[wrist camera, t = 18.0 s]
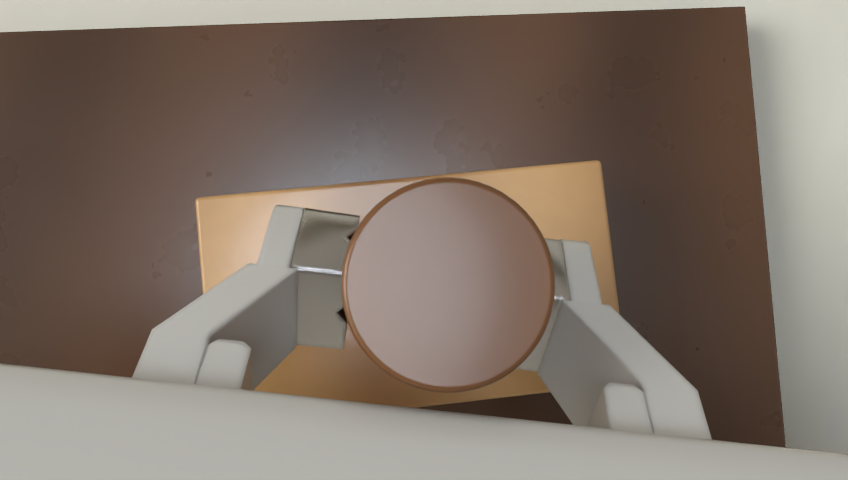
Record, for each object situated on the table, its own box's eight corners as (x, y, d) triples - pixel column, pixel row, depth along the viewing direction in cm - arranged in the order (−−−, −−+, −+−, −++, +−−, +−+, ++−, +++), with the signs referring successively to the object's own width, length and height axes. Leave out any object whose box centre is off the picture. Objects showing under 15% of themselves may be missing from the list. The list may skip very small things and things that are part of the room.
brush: (570, 178, 20) (781, 49, 10) (593, 371, 20) (836, 450, 10) (218, 211, 20) (48, 111, 9) (235, 412, 19) (79, 545, 9)
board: (725, 21, 22) (745, 5, 21) (771, 527, 21) (795, 540, 20) (-86, 51, 21) (-114, 35, 19) (-78, 599, 20) (-107, 618, 18)
